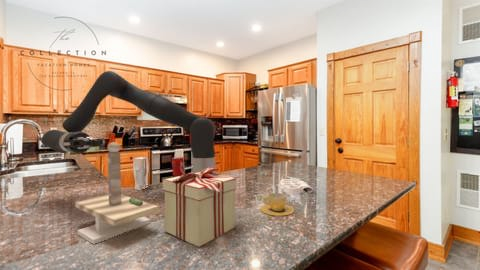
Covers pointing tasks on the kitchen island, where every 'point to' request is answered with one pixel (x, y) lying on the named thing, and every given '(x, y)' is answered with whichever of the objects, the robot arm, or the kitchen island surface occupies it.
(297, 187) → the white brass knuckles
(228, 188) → the gift box
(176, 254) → the kitchen island surface
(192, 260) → the kitchen island surface
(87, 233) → the deck stand
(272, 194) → the cup
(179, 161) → the beverage can
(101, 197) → the platform
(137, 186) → the beer glass
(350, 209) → the kitchen island surface
